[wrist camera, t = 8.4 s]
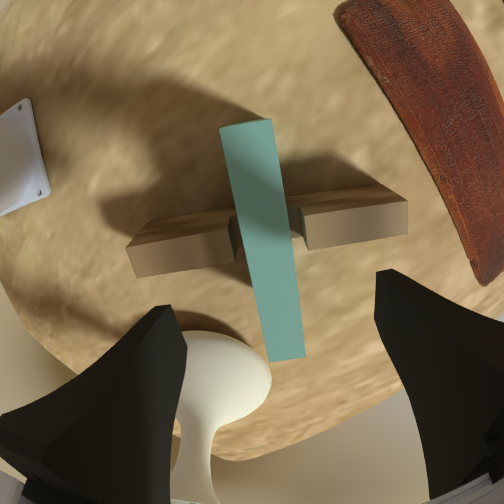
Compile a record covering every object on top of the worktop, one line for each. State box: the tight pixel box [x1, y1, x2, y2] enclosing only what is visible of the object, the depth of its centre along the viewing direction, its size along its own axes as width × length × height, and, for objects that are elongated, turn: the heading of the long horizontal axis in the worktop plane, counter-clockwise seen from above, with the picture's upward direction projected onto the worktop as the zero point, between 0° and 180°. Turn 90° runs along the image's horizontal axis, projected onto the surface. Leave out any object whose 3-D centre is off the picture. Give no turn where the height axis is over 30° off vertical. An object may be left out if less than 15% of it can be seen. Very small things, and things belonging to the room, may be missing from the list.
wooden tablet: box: [339, 0, 504, 287], centre depth 17 cm, size 27×10×2 cm, turn 38°
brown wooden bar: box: [126, 184, 408, 278], centre depth 18 cm, size 16×2×4 cm, turn 100°
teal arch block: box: [219, 118, 306, 362], centre depth 16 cm, size 12×2×7 cm, turn 11°
